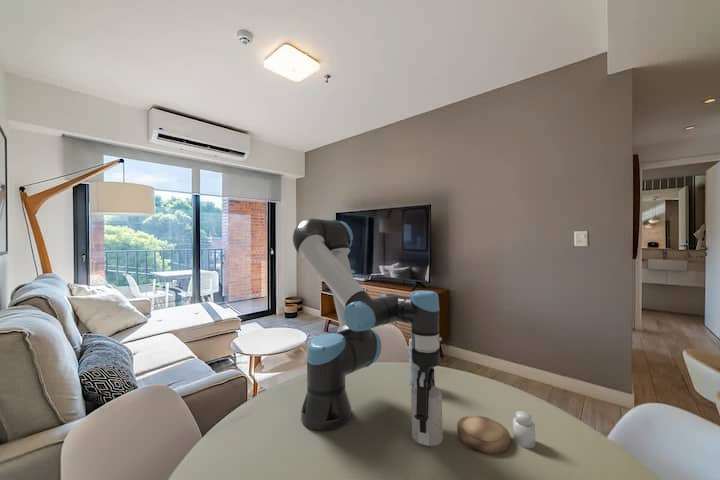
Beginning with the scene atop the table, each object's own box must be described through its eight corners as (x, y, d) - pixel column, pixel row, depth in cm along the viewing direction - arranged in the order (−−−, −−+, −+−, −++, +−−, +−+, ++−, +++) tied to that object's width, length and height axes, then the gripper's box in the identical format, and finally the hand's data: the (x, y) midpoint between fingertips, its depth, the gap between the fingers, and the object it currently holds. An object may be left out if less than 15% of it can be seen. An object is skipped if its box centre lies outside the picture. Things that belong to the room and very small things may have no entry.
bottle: (405, 382, 109) (404, 329, 109) (421, 380, 111) (420, 328, 111) (414, 390, 102) (413, 334, 103) (430, 388, 104) (429, 332, 105)
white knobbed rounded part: (514, 445, 73) (513, 417, 74) (512, 434, 78) (511, 407, 78) (537, 450, 71) (536, 422, 72) (533, 438, 76) (532, 411, 76)
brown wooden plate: (455, 446, 73) (455, 437, 73) (458, 418, 85) (458, 410, 85) (512, 460, 68) (512, 450, 68) (507, 428, 80) (507, 420, 80)
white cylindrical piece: (443, 447, 73) (443, 399, 73) (411, 443, 74) (410, 396, 75) (441, 428, 81) (440, 385, 81) (412, 425, 82) (411, 382, 83)
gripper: (433, 364, 67) (435, 463, 66) (444, 338, 87) (445, 414, 86) (402, 360, 70) (403, 454, 69) (419, 335, 90) (420, 409, 89)
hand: (426, 432), depth 77 cm, fingers open, 9 cm apart
